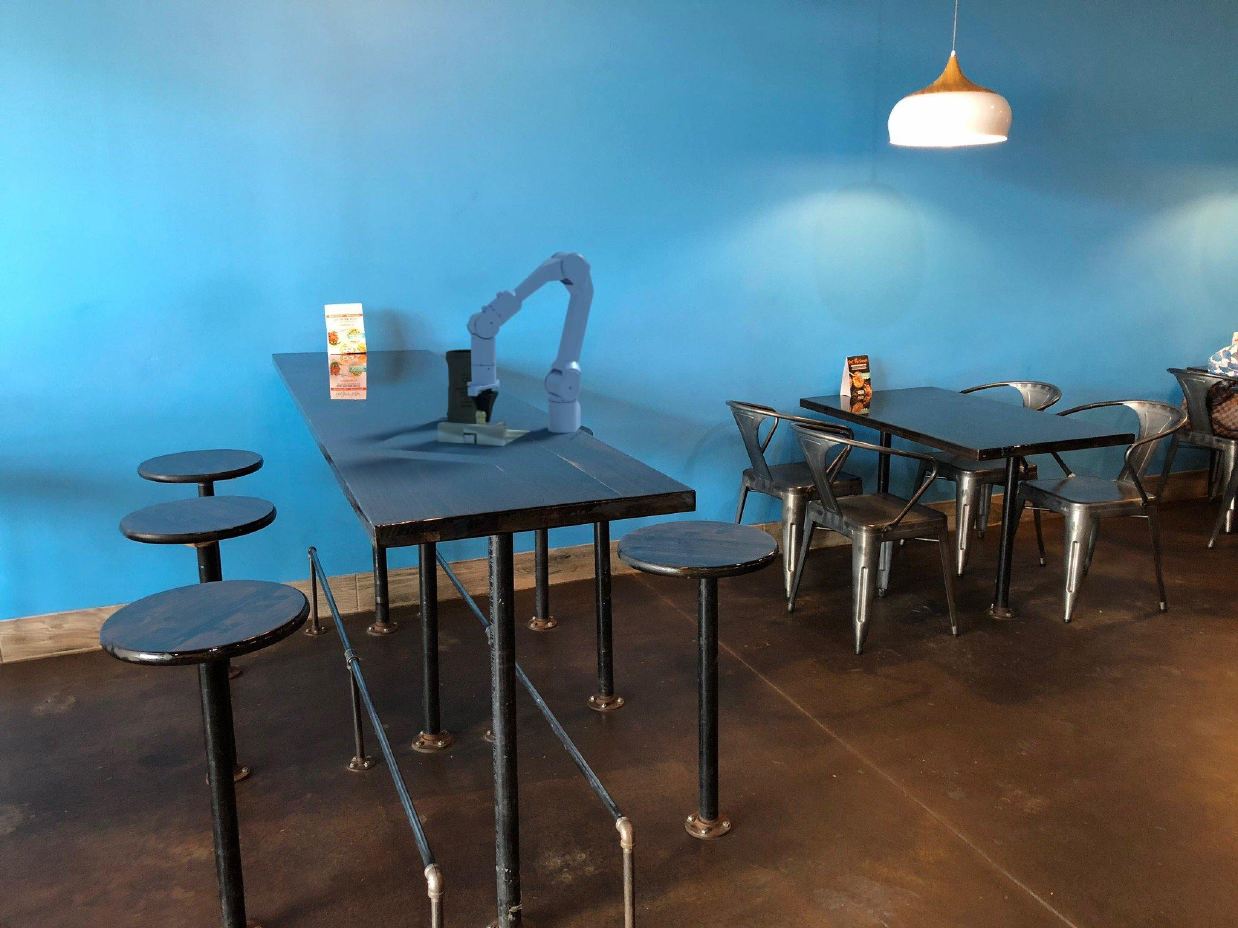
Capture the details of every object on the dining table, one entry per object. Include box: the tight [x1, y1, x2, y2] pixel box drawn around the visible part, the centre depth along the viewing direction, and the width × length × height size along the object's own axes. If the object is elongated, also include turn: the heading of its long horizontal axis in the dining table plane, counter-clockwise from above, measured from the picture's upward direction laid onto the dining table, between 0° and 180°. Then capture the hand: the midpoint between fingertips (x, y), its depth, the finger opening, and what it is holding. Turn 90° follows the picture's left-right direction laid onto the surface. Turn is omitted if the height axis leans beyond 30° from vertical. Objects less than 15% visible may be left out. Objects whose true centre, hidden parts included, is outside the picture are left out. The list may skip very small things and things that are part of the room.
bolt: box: [463, 410, 486, 444], centre depth 218 cm, size 8×2×6 cm, turn 165°
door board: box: [436, 421, 531, 447], centre depth 224 cm, size 18×16×6 cm
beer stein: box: [445, 348, 477, 424], centre depth 243 cm, size 15×11×20 cm
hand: (484, 421), depth 223 cm, fingers closed
